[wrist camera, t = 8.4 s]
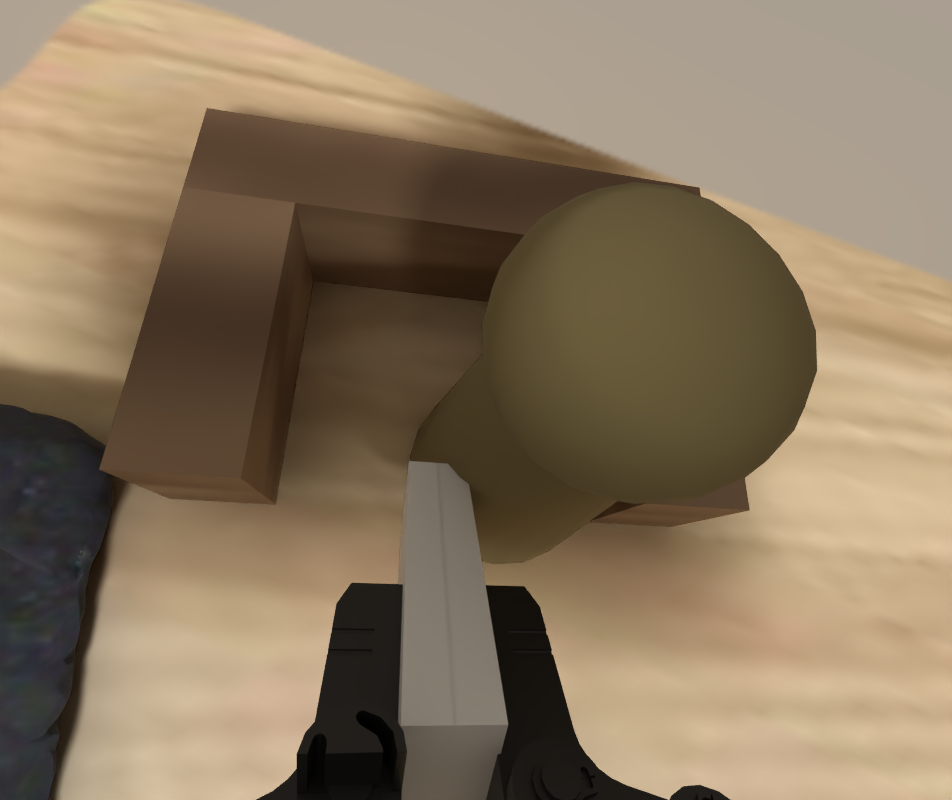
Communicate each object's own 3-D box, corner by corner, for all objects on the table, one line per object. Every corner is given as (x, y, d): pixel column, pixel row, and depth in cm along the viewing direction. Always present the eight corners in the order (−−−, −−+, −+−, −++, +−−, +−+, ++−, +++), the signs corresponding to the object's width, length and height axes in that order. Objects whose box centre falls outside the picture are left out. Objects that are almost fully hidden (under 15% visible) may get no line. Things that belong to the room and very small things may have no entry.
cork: (422, 372, 18) (499, 73, 7) (586, 399, 18) (852, 167, 8) (396, 553, 15) (460, 477, 5) (585, 573, 16) (947, 541, 6)
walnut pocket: (671, 526, 17) (749, 510, 14) (170, 498, 15) (98, 469, 11) (644, 257, 21) (699, 187, 17) (242, 202, 19) (206, 108, 15)
